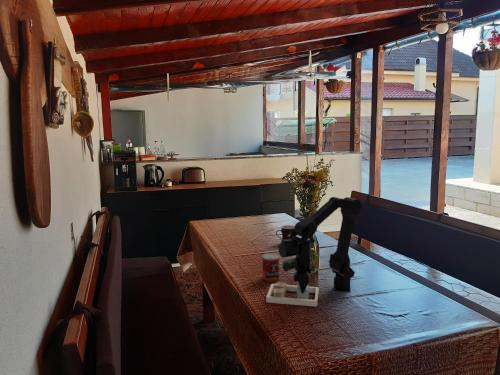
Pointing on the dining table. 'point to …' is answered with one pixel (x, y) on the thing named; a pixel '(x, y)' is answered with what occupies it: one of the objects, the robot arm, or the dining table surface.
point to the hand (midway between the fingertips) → (303, 290)
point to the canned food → (271, 267)
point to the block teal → (302, 295)
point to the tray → (292, 300)
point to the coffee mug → (286, 231)
